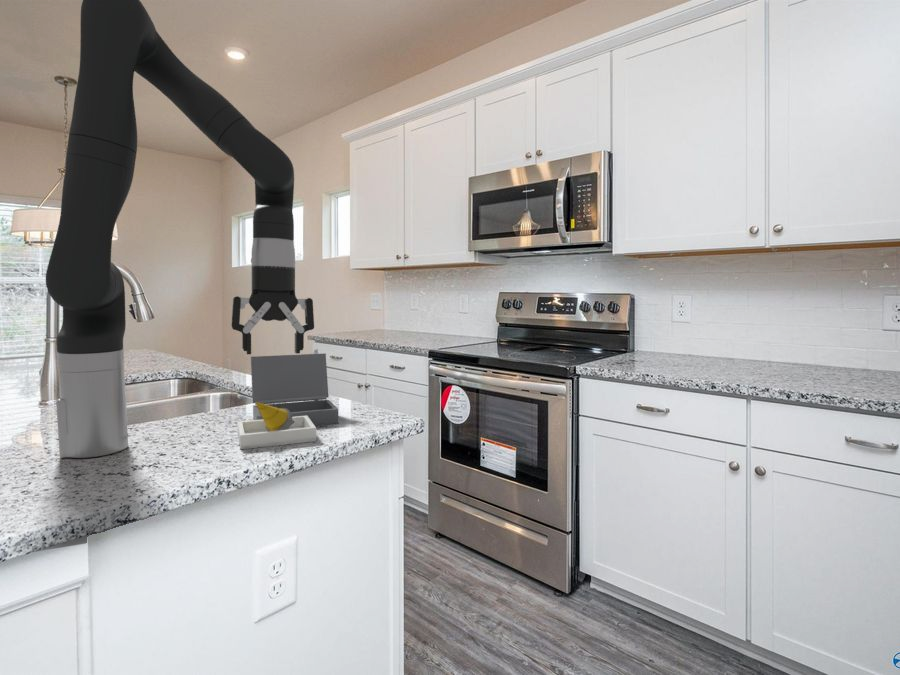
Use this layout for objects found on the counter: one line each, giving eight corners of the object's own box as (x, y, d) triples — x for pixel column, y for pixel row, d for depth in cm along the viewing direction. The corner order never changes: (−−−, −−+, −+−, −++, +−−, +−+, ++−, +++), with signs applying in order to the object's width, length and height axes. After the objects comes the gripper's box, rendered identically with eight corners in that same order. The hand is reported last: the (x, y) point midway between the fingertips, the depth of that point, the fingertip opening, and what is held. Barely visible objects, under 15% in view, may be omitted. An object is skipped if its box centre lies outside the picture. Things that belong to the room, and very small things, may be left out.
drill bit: (300, 436, 98) (265, 408, 92) (276, 446, 99) (240, 418, 93) (302, 414, 102) (269, 385, 95) (279, 424, 103) (245, 396, 96)
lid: (250, 356, 112) (250, 357, 112) (253, 405, 110) (252, 405, 111) (326, 353, 118) (325, 353, 119) (328, 398, 117) (328, 399, 118)
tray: (240, 449, 90) (240, 435, 90) (237, 434, 99) (237, 421, 99) (316, 441, 96) (316, 427, 96) (307, 427, 105) (307, 415, 105)
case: (256, 431, 102) (256, 416, 102) (253, 419, 111) (252, 405, 111) (338, 423, 108) (338, 409, 108) (328, 412, 117) (328, 399, 117)
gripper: (231, 262, 88) (232, 357, 90) (317, 266, 94) (316, 355, 96) (230, 263, 95) (231, 351, 96) (310, 267, 101) (309, 350, 102)
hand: (273, 353), depth 96 cm, fingers open, 8 cm apart
